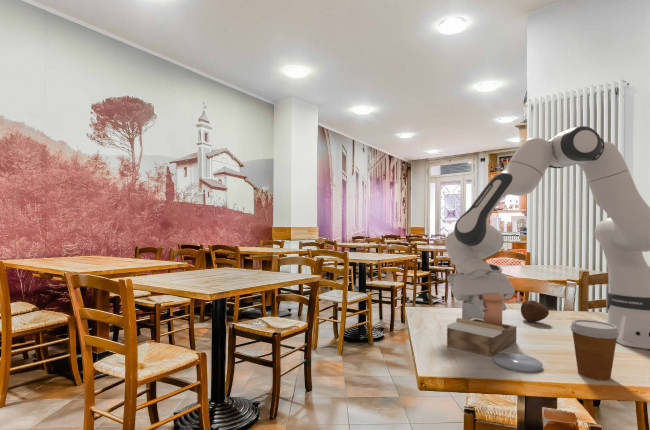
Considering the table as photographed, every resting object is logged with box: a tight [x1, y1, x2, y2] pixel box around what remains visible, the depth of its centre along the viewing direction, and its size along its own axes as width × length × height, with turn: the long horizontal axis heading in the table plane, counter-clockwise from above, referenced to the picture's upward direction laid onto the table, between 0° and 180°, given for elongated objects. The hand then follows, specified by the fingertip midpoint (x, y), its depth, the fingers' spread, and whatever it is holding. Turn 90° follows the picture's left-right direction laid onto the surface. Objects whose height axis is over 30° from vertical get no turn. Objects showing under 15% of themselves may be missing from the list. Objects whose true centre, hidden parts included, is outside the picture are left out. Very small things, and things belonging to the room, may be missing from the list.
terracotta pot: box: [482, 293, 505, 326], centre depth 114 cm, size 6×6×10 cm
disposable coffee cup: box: [569, 319, 619, 381], centre depth 90 cm, size 10×10×12 cm
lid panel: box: [446, 317, 502, 338], centre depth 108 cm, size 13×7×2 cm, turn 45°
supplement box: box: [461, 300, 483, 320], centre depth 141 cm, size 7×7×13 cm
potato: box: [520, 299, 550, 323], centre depth 140 cm, size 7×10×8 cm
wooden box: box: [446, 318, 517, 358], centre depth 112 cm, size 13×18×5 cm
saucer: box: [493, 352, 543, 374], centre depth 96 cm, size 11×11×1 cm
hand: (494, 310), depth 113 cm, fingers closed on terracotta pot, 5 cm apart
